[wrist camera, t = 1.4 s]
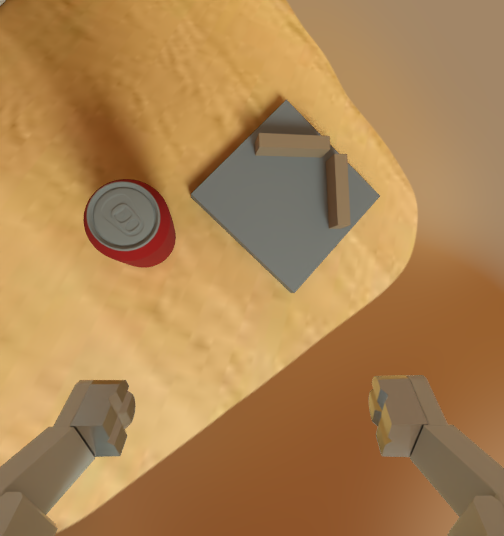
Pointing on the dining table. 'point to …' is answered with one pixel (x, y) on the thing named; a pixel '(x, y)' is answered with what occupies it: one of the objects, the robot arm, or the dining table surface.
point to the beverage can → (130, 223)
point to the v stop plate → (286, 196)
